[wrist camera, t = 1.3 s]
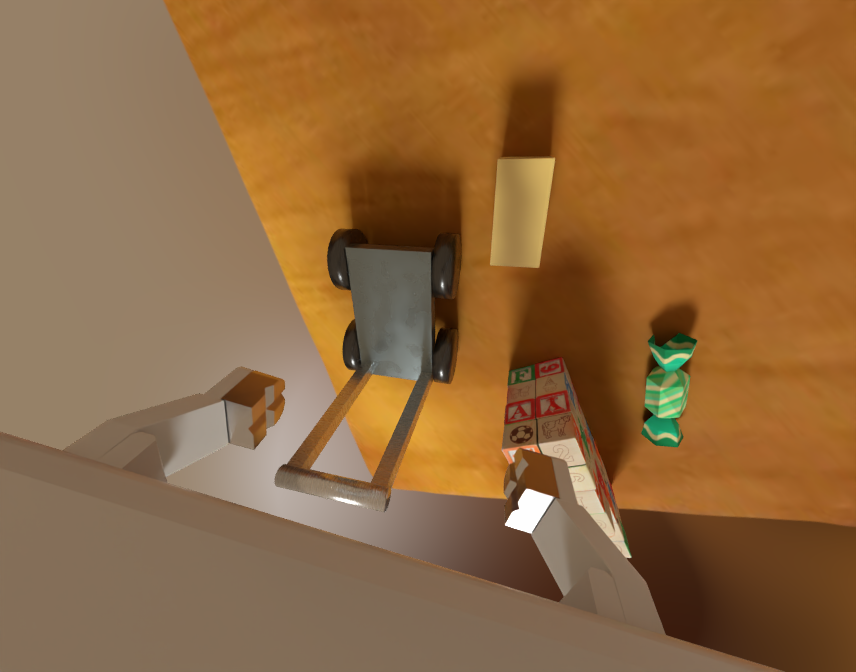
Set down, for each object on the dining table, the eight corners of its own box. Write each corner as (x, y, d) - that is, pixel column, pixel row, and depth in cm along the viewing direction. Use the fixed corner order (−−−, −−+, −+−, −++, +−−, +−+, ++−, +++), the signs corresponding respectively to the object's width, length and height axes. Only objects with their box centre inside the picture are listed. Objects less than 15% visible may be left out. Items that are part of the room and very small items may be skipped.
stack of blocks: (613, 485, 44) (640, 591, 33) (564, 490, 46) (575, 589, 36) (561, 354, 36) (576, 439, 26) (507, 369, 39) (500, 451, 29)
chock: (550, 156, 28) (555, 158, 24) (537, 251, 32) (539, 267, 28) (501, 156, 29) (497, 159, 24) (494, 249, 33) (490, 265, 28)
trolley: (457, 363, 40) (406, 529, 23) (367, 352, 43) (262, 493, 25) (462, 227, 32) (390, 324, 15) (351, 223, 35) (182, 301, 17)
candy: (686, 430, 36) (673, 454, 34) (651, 418, 39) (636, 440, 37) (701, 334, 31) (687, 355, 29) (659, 327, 33) (643, 346, 31)
